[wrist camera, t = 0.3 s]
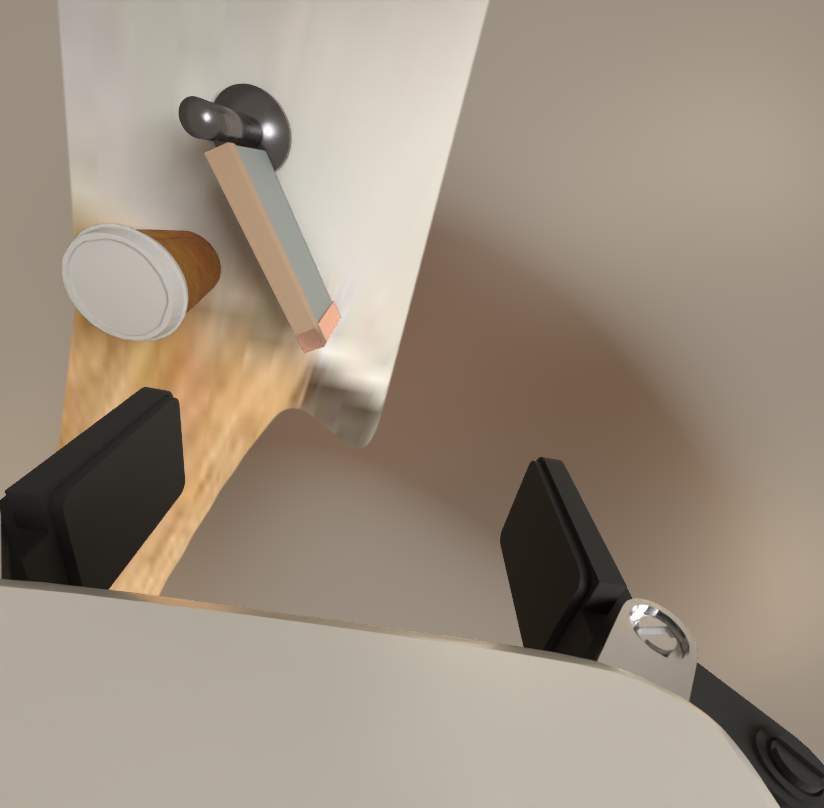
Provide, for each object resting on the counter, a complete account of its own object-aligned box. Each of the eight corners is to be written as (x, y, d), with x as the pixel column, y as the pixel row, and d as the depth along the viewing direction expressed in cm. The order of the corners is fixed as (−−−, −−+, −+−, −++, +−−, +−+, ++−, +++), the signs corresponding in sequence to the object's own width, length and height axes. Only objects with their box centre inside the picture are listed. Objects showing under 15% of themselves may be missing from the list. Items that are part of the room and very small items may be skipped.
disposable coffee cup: (187, 321, 47) (120, 363, 36) (124, 242, 43) (28, 263, 32) (254, 282, 45) (204, 314, 34) (194, 194, 41) (115, 200, 30)
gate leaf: (248, 158, 38) (204, 152, 30) (267, 149, 38) (227, 142, 30) (324, 322, 45) (303, 353, 38) (340, 316, 45) (324, 346, 37)
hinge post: (199, 104, 37) (121, 78, 28) (268, 71, 36) (213, 32, 26) (239, 187, 40) (182, 190, 31) (304, 160, 39) (266, 154, 29)
